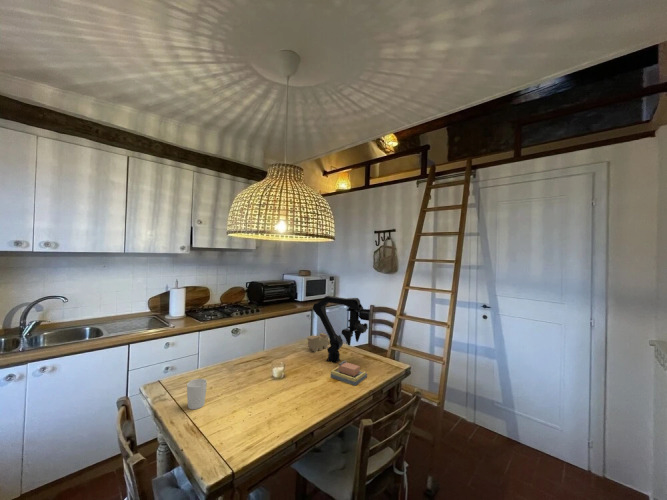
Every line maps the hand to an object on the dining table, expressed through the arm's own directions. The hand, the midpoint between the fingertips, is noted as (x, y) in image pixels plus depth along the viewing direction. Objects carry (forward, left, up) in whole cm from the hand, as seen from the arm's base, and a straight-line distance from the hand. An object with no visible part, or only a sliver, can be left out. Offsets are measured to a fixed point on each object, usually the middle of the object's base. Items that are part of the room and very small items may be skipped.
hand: (353, 343), depth 174 cm
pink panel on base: (+8, -17, -11) cm, 21 cm away
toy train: (-33, +7, -13) cm, 36 cm away
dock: (+7, -17, -13) cm, 22 cm away
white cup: (-32, -83, -13) cm, 89 cm away
